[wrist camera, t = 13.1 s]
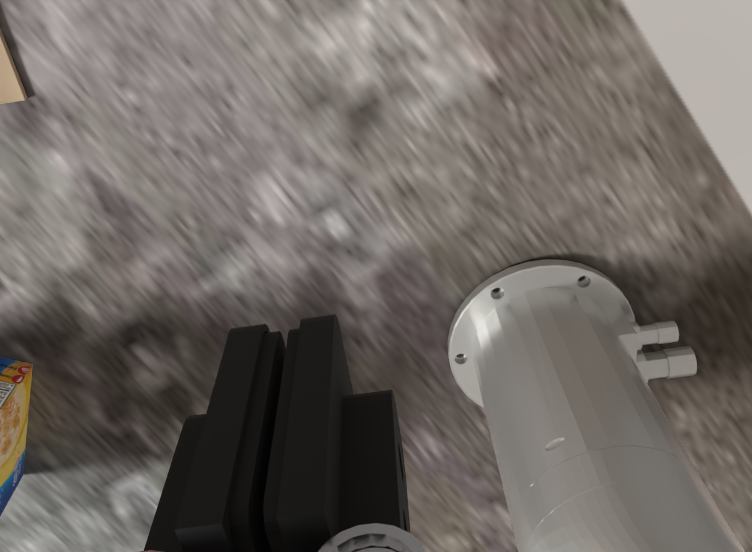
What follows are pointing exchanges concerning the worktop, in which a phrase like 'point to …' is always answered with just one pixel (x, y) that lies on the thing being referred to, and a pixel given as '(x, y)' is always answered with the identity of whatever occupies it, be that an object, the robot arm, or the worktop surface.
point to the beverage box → (13, 423)
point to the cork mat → (9, 76)
